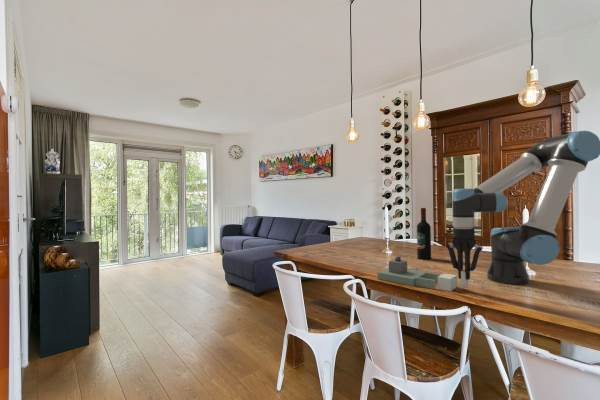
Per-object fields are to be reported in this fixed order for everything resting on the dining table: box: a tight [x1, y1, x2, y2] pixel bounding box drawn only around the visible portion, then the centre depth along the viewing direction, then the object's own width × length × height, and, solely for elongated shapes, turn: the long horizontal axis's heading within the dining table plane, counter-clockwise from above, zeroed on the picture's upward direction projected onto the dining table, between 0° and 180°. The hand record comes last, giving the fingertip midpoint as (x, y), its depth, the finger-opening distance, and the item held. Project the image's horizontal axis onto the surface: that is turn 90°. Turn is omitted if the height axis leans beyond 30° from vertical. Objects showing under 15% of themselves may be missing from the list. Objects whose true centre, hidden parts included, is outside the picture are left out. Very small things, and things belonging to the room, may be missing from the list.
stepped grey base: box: [377, 255, 442, 290], centre depth 134 cm, size 25×14×10 cm, turn 45°
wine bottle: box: [416, 207, 432, 261], centre depth 177 cm, size 8×8×30 cm
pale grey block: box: [437, 272, 458, 292], centre depth 123 cm, size 5×7×5 cm
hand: (464, 287), depth 118 cm, fingers closed
